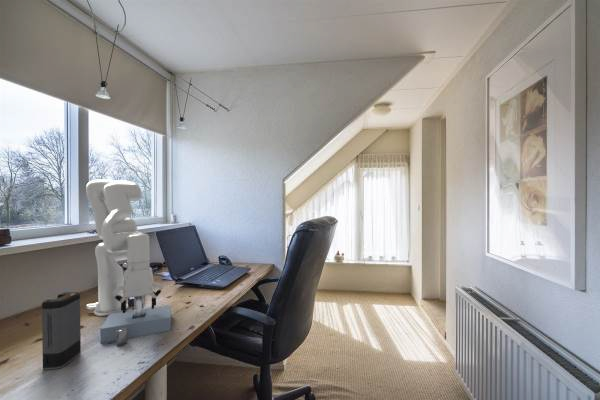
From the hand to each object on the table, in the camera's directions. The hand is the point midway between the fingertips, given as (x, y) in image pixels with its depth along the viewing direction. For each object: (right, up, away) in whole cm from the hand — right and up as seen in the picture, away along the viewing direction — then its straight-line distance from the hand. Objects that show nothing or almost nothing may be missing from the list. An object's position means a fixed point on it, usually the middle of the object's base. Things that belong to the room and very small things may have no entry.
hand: (139, 309), depth 107 cm
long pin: (0, -7, 0) cm, 7 cm away
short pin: (+1, -7, -12) cm, 14 cm away
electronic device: (-11, -8, -21) cm, 25 cm away
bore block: (0, -7, 0) cm, 7 cm away
